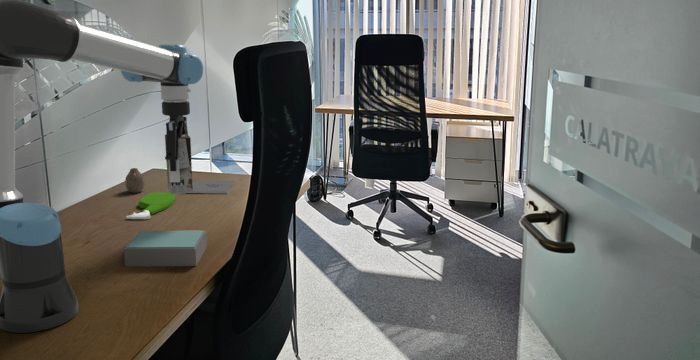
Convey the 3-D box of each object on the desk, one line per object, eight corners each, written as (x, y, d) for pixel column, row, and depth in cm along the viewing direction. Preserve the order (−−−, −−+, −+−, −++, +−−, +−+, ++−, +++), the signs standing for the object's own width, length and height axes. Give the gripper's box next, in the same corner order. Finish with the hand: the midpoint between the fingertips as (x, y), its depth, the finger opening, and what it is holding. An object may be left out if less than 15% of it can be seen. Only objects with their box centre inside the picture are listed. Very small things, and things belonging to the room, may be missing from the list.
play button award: (184, 180, 235) (235, 180, 235) (185, 184, 235) (235, 184, 235) (173, 190, 219) (227, 191, 219) (173, 194, 219) (227, 195, 219)
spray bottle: (178, 200, 212) (156, 222, 188) (148, 199, 212) (122, 222, 188) (177, 192, 211) (155, 213, 188) (147, 191, 211) (121, 213, 188)
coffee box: (193, 193, 169) (191, 137, 165) (170, 195, 167) (167, 138, 163) (189, 185, 178) (187, 132, 174) (167, 187, 175) (164, 133, 171)
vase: (121, 193, 219) (119, 170, 217) (133, 188, 225) (131, 166, 223) (137, 194, 217) (136, 171, 215) (149, 190, 223) (147, 167, 221)
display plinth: (196, 266, 152) (195, 247, 151) (125, 266, 151) (123, 248, 150) (207, 246, 165) (206, 229, 164) (141, 247, 165) (140, 230, 164)
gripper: (179, 105, 155) (183, 187, 160) (197, 96, 177) (200, 169, 183) (150, 105, 155) (155, 187, 160) (172, 96, 177) (176, 168, 182)
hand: (179, 177), depth 171 cm, fingers closed on coffee box, 10 cm apart
